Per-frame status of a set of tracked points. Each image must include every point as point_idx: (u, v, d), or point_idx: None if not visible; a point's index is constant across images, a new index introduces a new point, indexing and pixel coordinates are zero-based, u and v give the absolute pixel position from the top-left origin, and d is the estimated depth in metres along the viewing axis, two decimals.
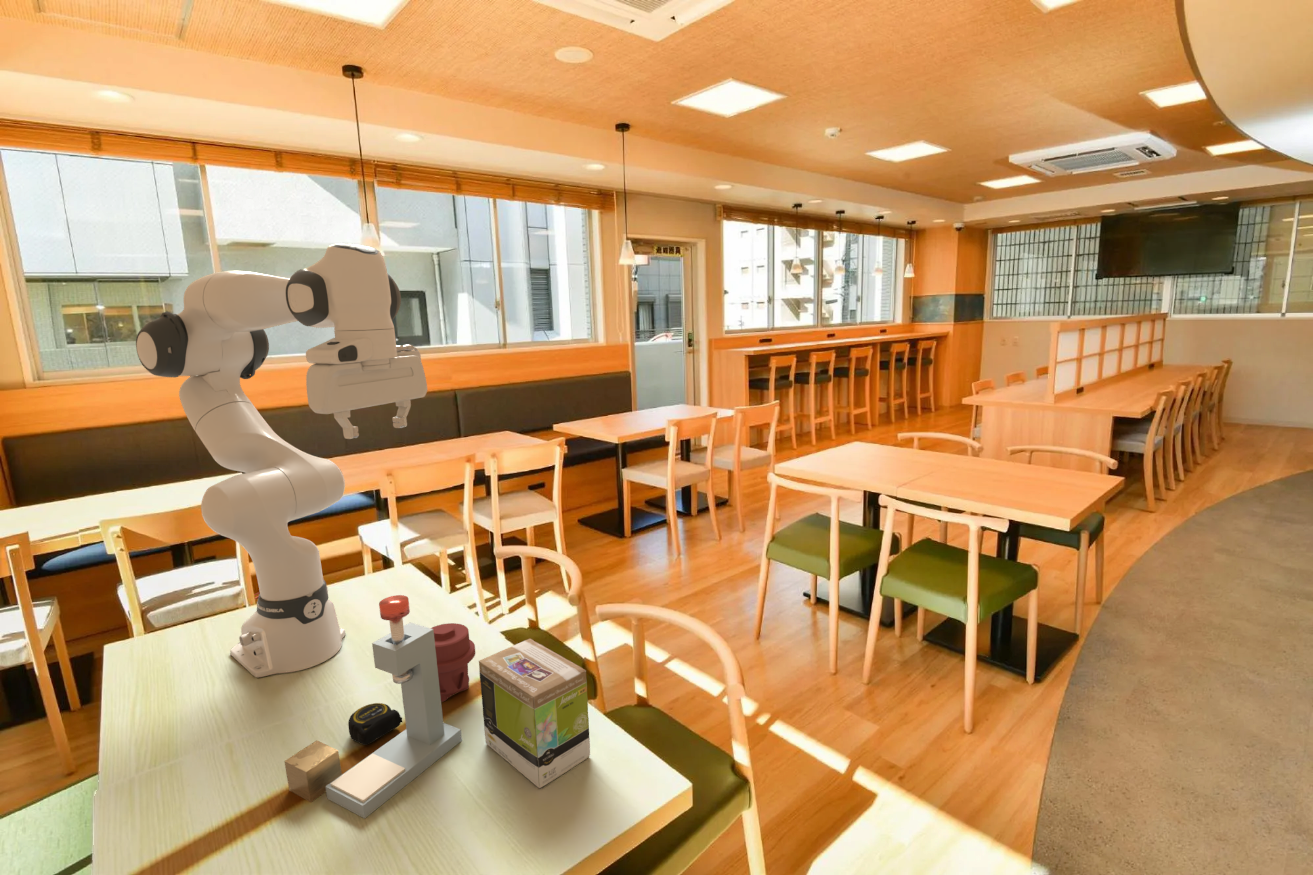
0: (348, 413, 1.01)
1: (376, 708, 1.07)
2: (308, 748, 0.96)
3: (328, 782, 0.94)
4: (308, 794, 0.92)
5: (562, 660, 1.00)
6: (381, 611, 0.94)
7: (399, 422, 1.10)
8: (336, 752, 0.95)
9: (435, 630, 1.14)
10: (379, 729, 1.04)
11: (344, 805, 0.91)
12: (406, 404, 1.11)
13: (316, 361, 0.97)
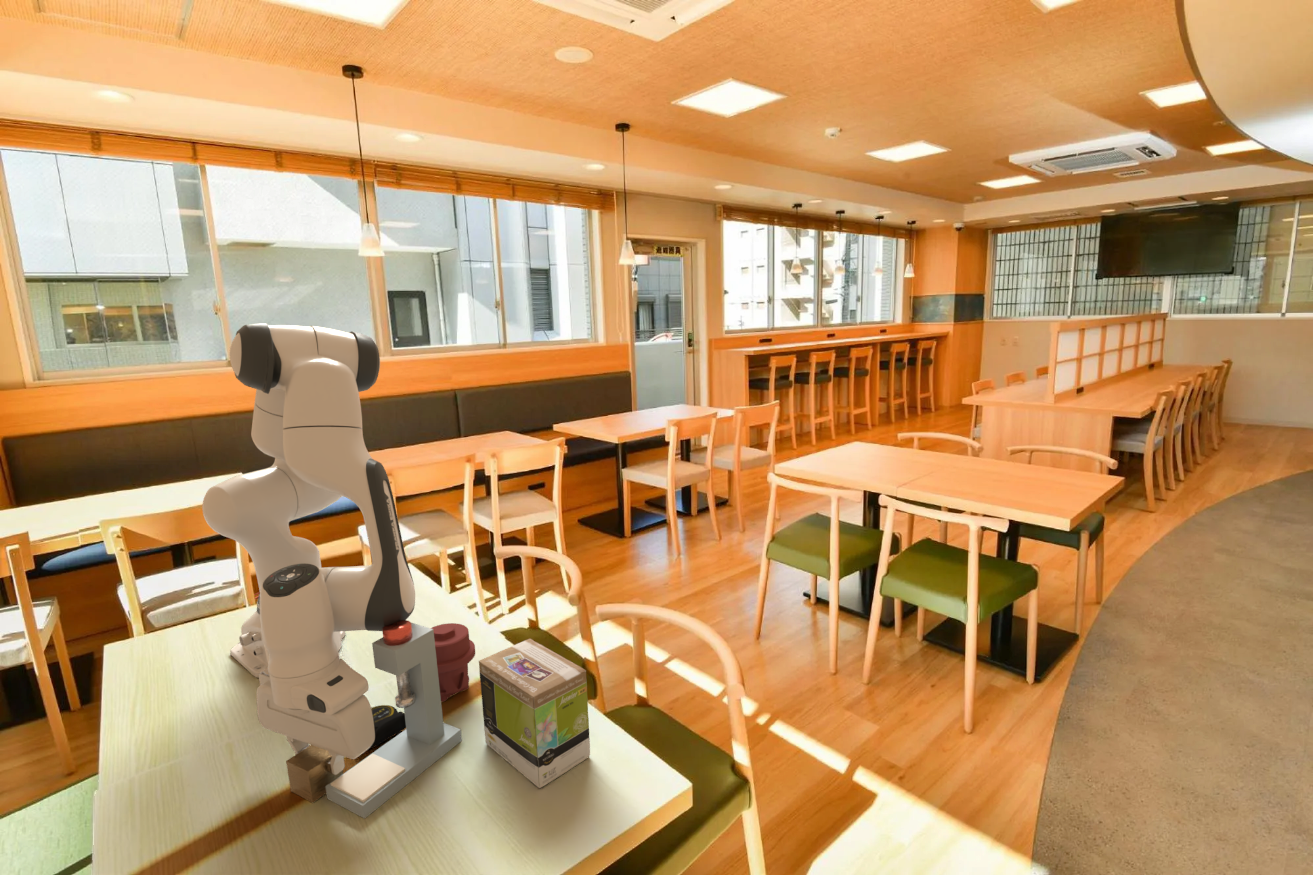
0: None
1: (383, 710, 1.07)
2: (310, 748, 0.95)
3: (330, 782, 0.94)
4: (310, 794, 0.92)
5: (562, 660, 1.00)
6: (384, 637, 0.95)
7: None
8: None
9: (435, 630, 1.14)
10: (386, 732, 1.03)
11: (344, 805, 0.91)
12: None
13: (349, 702, 0.89)
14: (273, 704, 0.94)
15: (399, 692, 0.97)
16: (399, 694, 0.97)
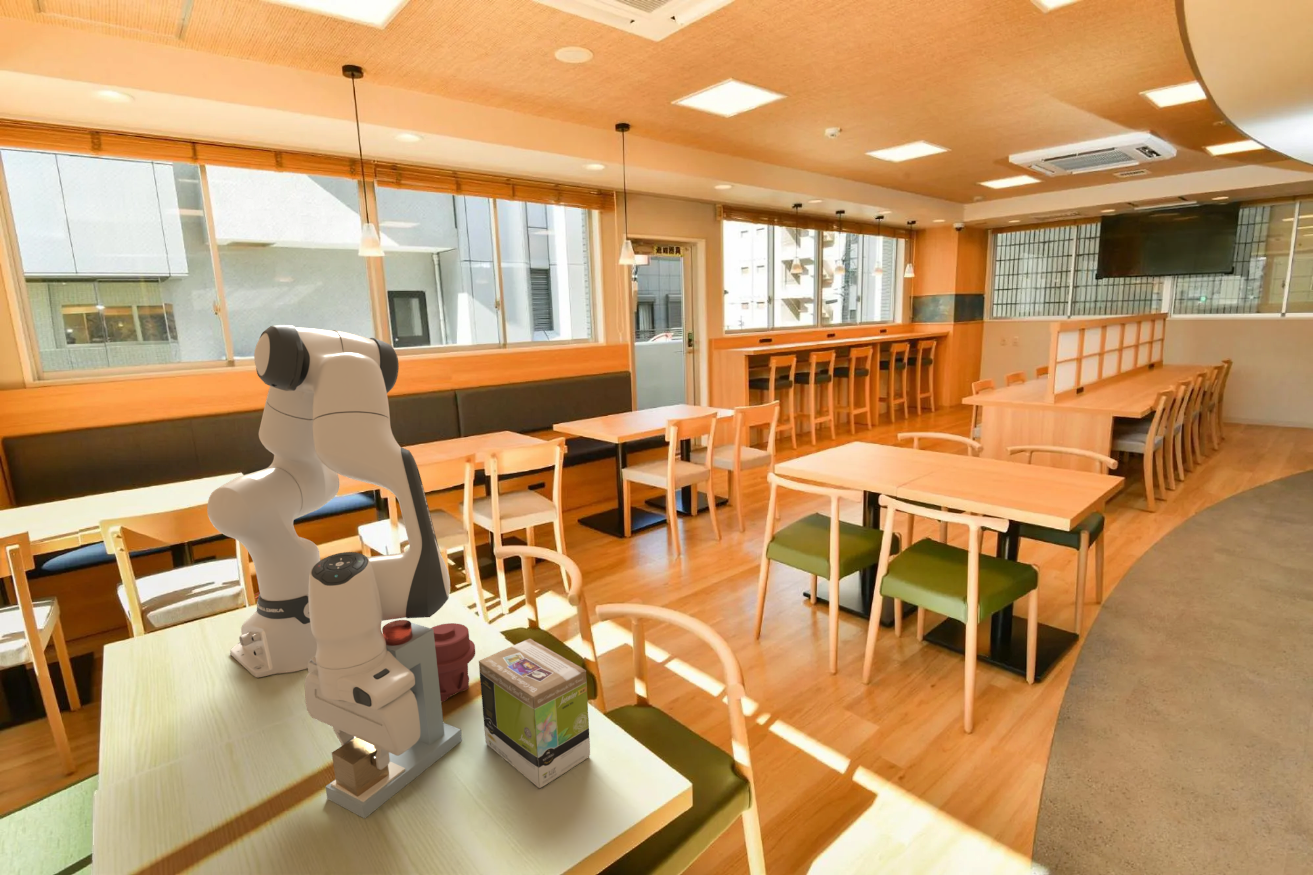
0: None
1: None
2: (356, 740, 0.93)
3: (375, 776, 0.92)
4: (355, 788, 0.89)
5: (562, 660, 1.00)
6: (384, 636, 0.95)
7: None
8: None
9: (435, 630, 1.14)
10: None
11: (344, 805, 0.91)
12: None
13: (395, 697, 0.86)
14: (320, 694, 0.93)
15: None
16: None
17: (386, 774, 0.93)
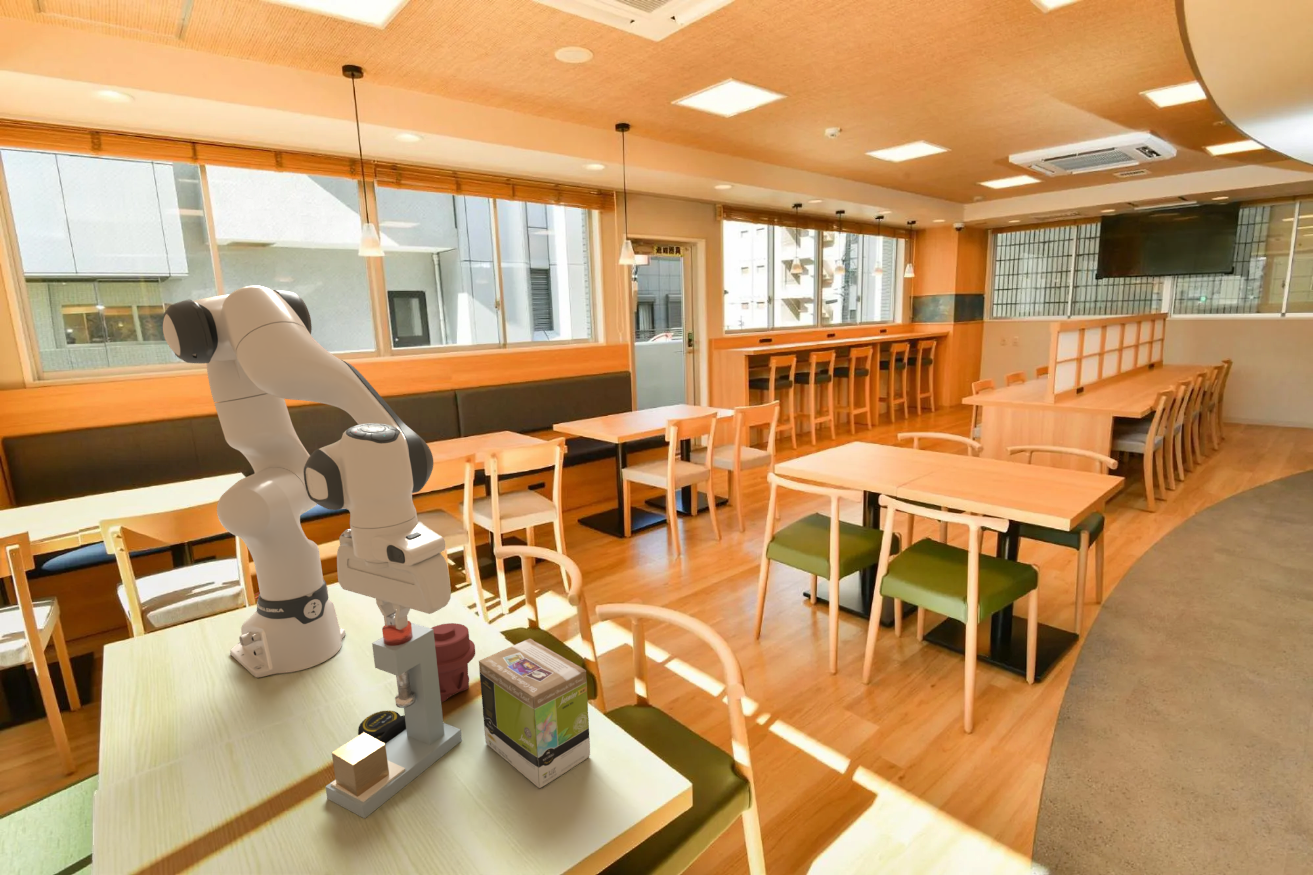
0: None
1: (385, 715, 1.05)
2: (356, 740, 0.93)
3: (375, 776, 0.92)
4: (355, 788, 0.89)
5: (562, 660, 1.00)
6: (384, 636, 0.95)
7: None
8: (383, 745, 0.92)
9: (435, 630, 1.14)
10: (392, 736, 1.02)
11: (344, 805, 0.91)
12: None
13: (427, 557, 0.89)
14: (353, 563, 0.96)
15: (399, 692, 0.97)
16: (399, 694, 0.97)
17: (386, 774, 0.93)
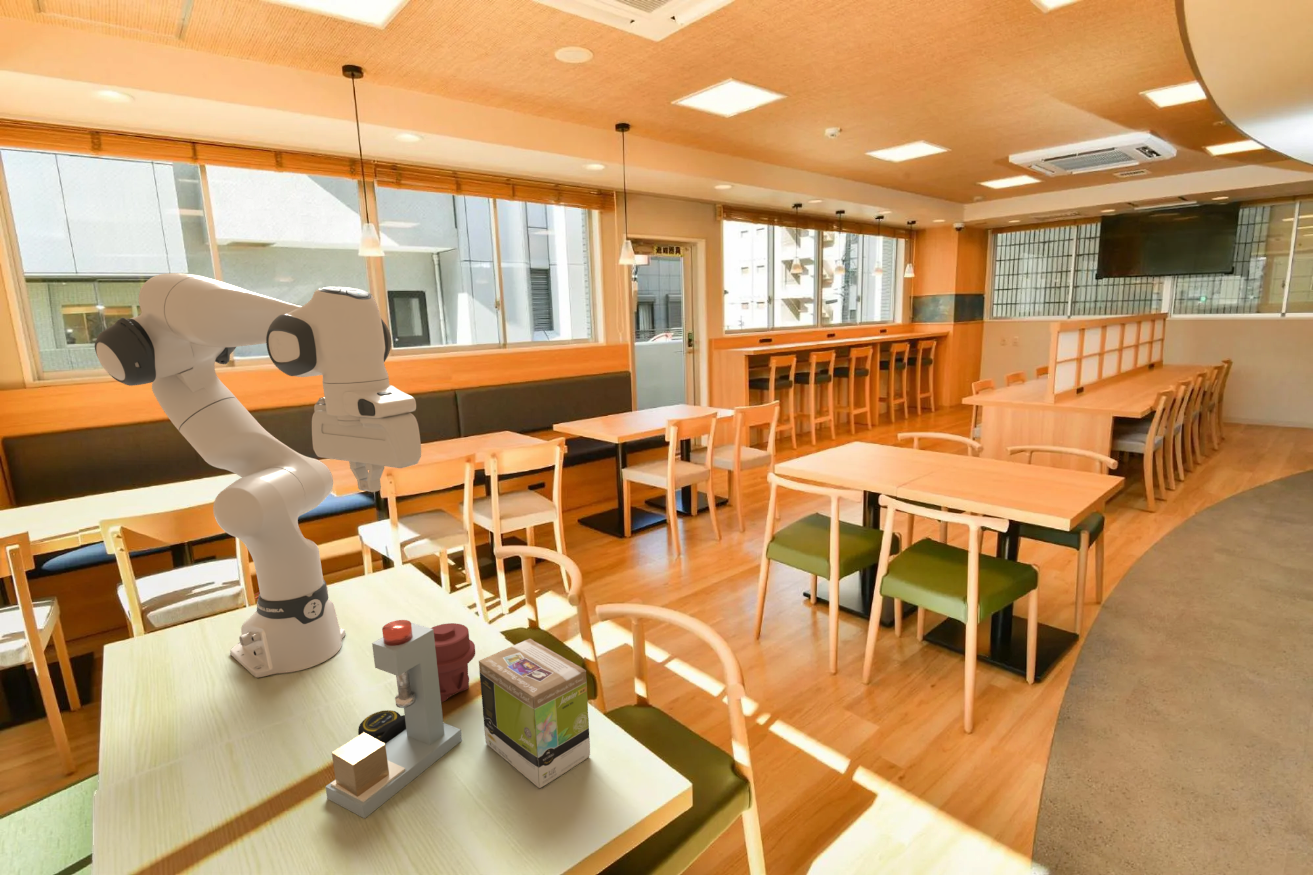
0: None
1: (385, 715, 1.05)
2: (356, 740, 0.93)
3: (375, 776, 0.92)
4: (355, 788, 0.89)
5: (562, 660, 1.00)
6: (384, 636, 0.95)
7: None
8: (383, 745, 0.92)
9: (435, 630, 1.14)
10: (392, 736, 1.02)
11: (344, 805, 0.91)
12: None
13: (398, 412, 0.91)
14: (327, 428, 0.98)
15: (399, 692, 0.97)
16: (399, 694, 0.97)
17: (386, 774, 0.93)
